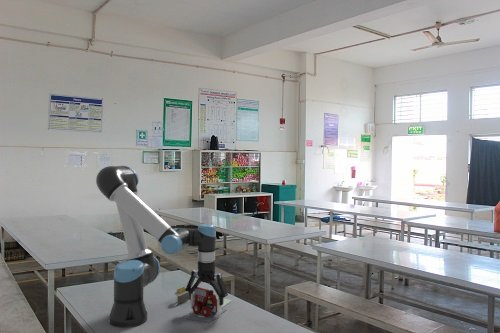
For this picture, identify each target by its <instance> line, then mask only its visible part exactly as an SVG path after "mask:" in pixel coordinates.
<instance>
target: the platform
mask: <svg viewBox="0 0 500 333" xmlns="http://www.w3.org/2000/svg"><path fill="white" fill-rule="evenodd" d="M185 289H186V287H185V286H183V287H179V288H177V289H176V291H175V292H174V293H173V294H174V296H176V298H177V301H176V302H177V304H178V305H179V304H181V303H184V302H186V301H190V300H189V292H188V291H186V290H185Z"/></svg>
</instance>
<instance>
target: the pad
mask: <svg viewBox="0 0 500 333" xmlns="http://www.w3.org/2000/svg"><path fill="white" fill-rule="evenodd" d="M232 302H233V300H232V299H227V298H224V299H223V305H222V309H224V307H226V306H227V305H228V304H230V303H232Z"/></svg>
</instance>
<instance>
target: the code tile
mask: <svg viewBox="0 0 500 333" xmlns="http://www.w3.org/2000/svg"><path fill="white" fill-rule="evenodd" d="M226 311H227V309H225V308H222V312H220V313H219V314H217V313H212V312H211V314H210V315H209V316H207V317H205V316H203V314H202V310H201V312H200V313H199V314H195V313H194V312H193V311H192V312H190V313H188V314H186V316H184V317H183V319H187V320H192V321H197V322H202V323H207V324H209V323H211V322H212V321H213V320H214V319H215V320H216V318H218V317H219V316H220V315H222V314H223V313H224V312H226Z"/></svg>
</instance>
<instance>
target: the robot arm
mask: <svg viewBox="0 0 500 333" xmlns="http://www.w3.org/2000/svg"><path fill="white" fill-rule="evenodd" d="M138 175H139V174H138V173H137V171H136V170H135V169H133V168H132V167H131V166H127V165H116V166H114V165H110V166H109V165H108V166H105V167H104V168H101V169H100V170H99V171H98V173H97V174H96V178H95V181H96V182H95V183H96V186H97V188H98V190H99V192H100V193H101V194H102V195H104V196H105V197H106V198H107V200H108V201H110V202H114V203H115V204H116V207H117V213H118V215H119V220H120V223H121V228H122V231H123V236H124V240H125V244H126V249H127V253H128V254H127V256H126V259H125V261H121V262H119V263H117V264H116V265H115V267H114V271H113V304H112V307H111V310H110V314H109V316H108V323H109V324H110V325H111V326H113V327H118V328H130V327H136V326H139V325H142V324H143V323H145V322H147V320H148V311H147V309H146V305H145V301H144V288H145V287H147V286H148V285H150V284H151V283H153V282H154V281H155V280H156V279H157V277H158V276H160V272H161V263H160V261H159V259H157V258H156V257H155V256H154V252H153V250H151V249H149V246H148V243H147V239H146V235H145V232H144V230H146V231H147V232H148V234H150V236H152V237H153V238H154V239H155V240H156V241H157V242H159V243H160V247H161V251H162V252H163V253H165V254H168V255H173V254H177V253H179V252H180V251H181V250H182V249H184V248H186V247H197V260H198V261H197V269H193V270H192V271H191V272H190V273H191V275H190V277H189V279H188V282H187V285H186V287H185V288H186V289H185V290H186V291H188V292H189V300H188V301H190V310H193V306H194V305H195V293H194V290H195V288H196V287H199V285H200V284H201V283H206V284H209V285H211V287H212V289H213V291H215V294H216V296H217V297H216V298H217V314H219V313H220V312H222V309H223V308H222V305H223V299H225V298H226V297H228V295H229V293H228V290H227V288H226V285H225V282H224V280H223V275H222V273H221V272H220V273H216V261H215V260H216V237H217V235H216V226H215V225H214V224H211V223H210V224H209V223H204V224H203V223H202V224H201V223H200V224H199V225H198V227H197V228H184V227H183V228H182V227H177V228H176V227H175V228H173V227H172V226H171V225H169V224H168V223H167V222H166V221H165V220H164V219H163V218H162V217H161V216H159V214H157V213H156V212H155V211H154V210H153V209H152V208H150V207H149V206H148V205H147V203H145V202H144V201H143V200H142V199H141V198H140V197H138V196H137V195H138V194H139V193H138V192H139V191H138V188H137V187H138V184H139V179H140V178H139V176H138ZM197 276H198V278H197V279H196V277H197ZM195 279H196V281H195ZM194 282H195V283H194Z"/></svg>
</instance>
